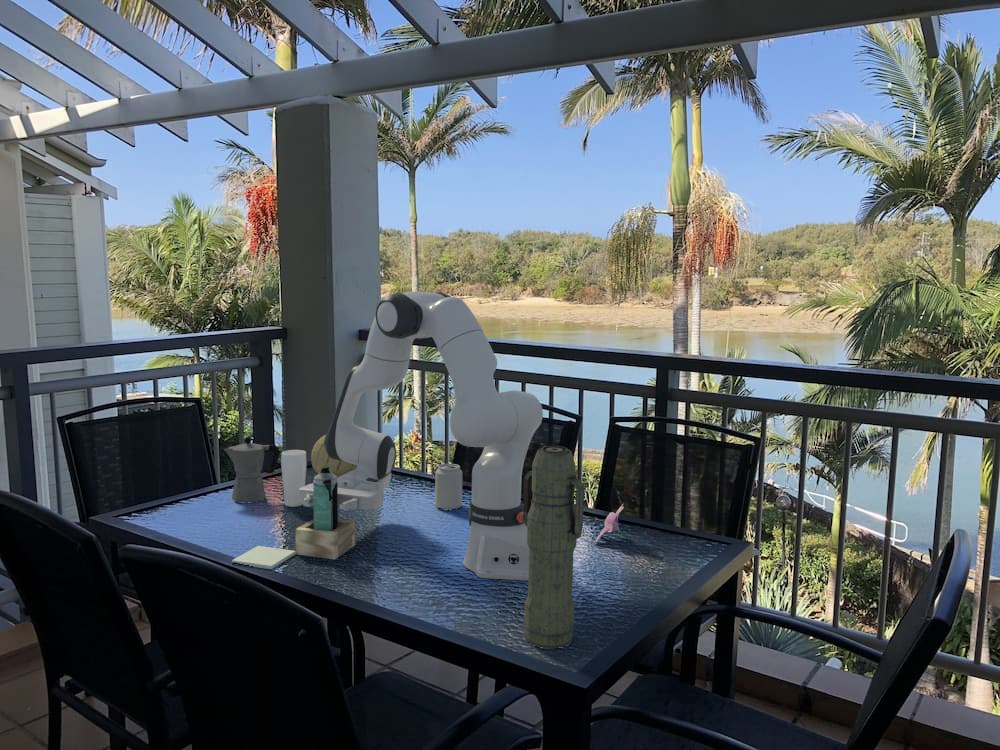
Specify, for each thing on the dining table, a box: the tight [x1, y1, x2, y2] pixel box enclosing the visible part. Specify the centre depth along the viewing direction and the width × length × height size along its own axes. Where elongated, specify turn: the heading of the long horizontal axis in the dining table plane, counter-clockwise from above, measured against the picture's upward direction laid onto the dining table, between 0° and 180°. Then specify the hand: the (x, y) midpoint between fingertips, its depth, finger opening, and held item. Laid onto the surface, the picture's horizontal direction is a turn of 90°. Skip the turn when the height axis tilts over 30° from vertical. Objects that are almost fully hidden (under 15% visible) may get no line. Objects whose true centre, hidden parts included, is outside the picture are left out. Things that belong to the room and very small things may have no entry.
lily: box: [594, 504, 627, 545], centre depth 195 cm, size 12×12×10 cm
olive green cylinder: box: [523, 445, 585, 648], centre depth 140 cm, size 9×12×35 cm
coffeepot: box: [223, 436, 281, 504], centre depth 224 cm, size 15×9×18 cm, turn 100°
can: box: [434, 463, 463, 510], centre depth 220 cm, size 8×8×12 cm
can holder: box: [295, 518, 356, 561], centre depth 185 cm, size 10×10×6 cm
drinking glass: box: [280, 449, 307, 508], centre depth 219 cm, size 7×7×15 cm
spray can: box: [312, 466, 339, 531], centre depth 184 cm, size 6×6×20 cm
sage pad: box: [231, 545, 297, 570], centre depth 179 cm, size 10×10×1 cm
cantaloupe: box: [310, 434, 357, 478], centre depth 248 cm, size 15×15×15 cm
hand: (323, 505), depth 183 cm, fingers open, 8 cm apart
